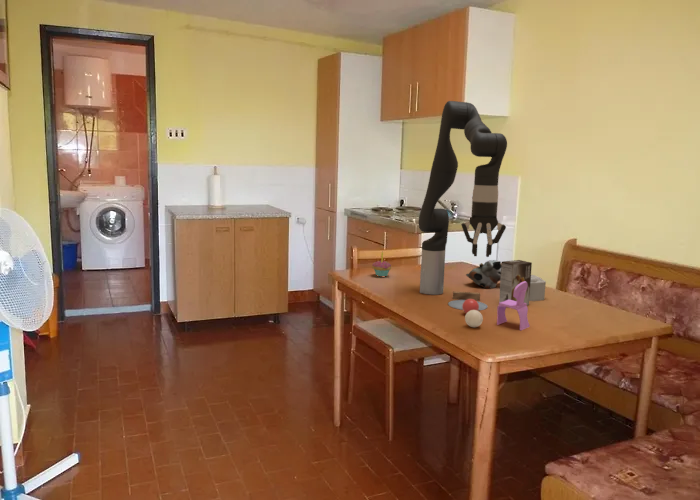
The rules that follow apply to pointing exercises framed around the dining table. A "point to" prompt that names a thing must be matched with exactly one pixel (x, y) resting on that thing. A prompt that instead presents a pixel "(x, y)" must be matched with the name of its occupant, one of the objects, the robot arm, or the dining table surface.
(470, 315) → the cream ball
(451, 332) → the dining table surface
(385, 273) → the cupcake
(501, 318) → the toy chair
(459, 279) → the dining table surface
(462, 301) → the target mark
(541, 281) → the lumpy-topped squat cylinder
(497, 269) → the lucky cat figurine
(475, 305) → the red ball
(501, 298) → the coffee box
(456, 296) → the strip
